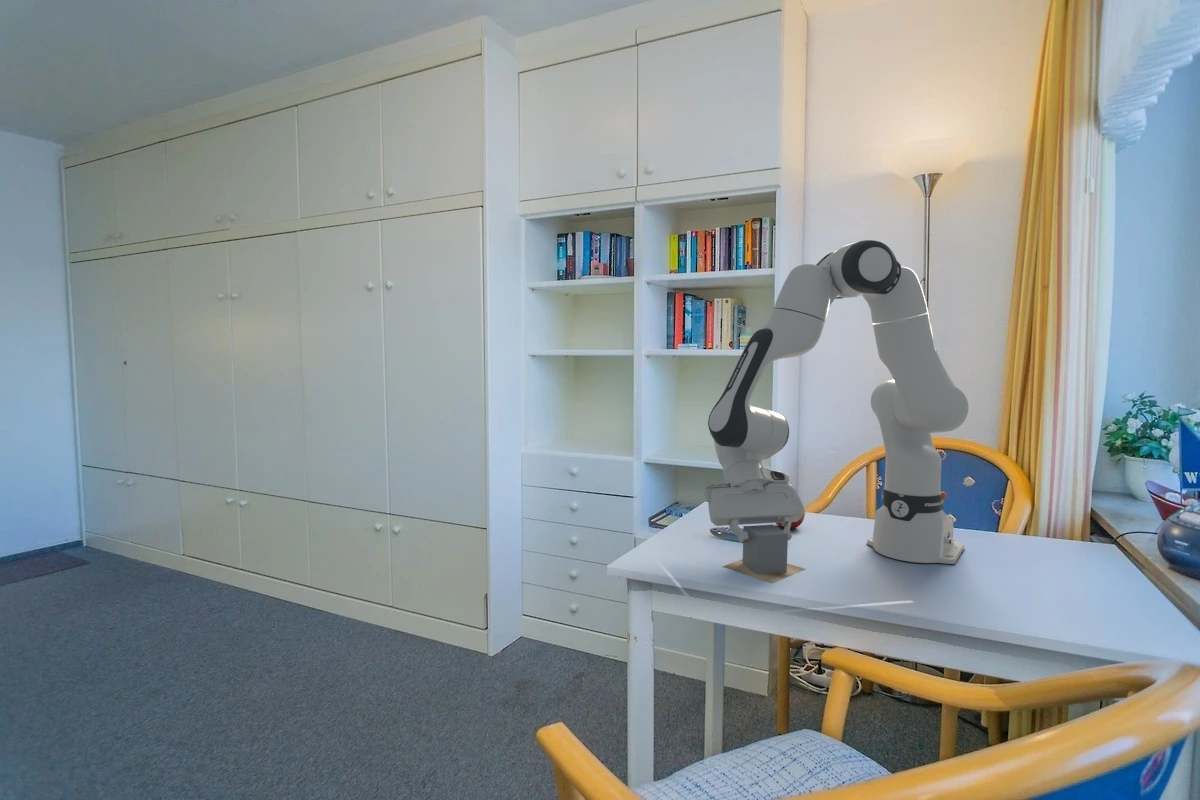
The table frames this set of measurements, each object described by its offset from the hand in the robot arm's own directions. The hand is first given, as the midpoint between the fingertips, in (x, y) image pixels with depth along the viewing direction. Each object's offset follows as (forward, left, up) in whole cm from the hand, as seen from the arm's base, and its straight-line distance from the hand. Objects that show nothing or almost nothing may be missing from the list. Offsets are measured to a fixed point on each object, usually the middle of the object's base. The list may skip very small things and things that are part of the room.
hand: (766, 540), depth 127 cm
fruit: (-31, -15, -7) cm, 35 cm away
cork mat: (0, -1, -6) cm, 6 cm away
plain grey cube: (0, -1, -6) cm, 6 cm away
